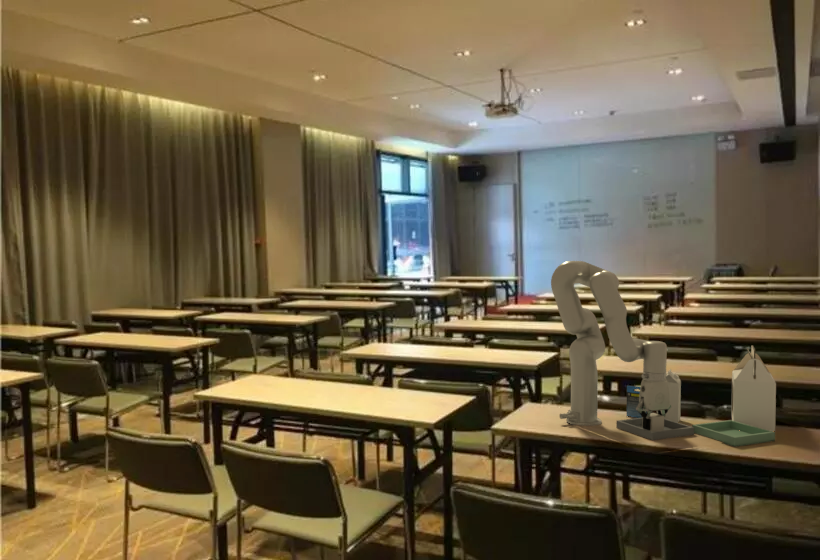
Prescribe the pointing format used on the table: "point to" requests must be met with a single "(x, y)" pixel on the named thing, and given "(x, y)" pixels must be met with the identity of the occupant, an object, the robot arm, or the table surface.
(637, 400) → the label tape cartridge
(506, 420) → the table surface
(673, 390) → the milk carton
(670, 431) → the charcoal bin
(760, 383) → the gable box
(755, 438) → the sage green bin
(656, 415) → the beige cube
